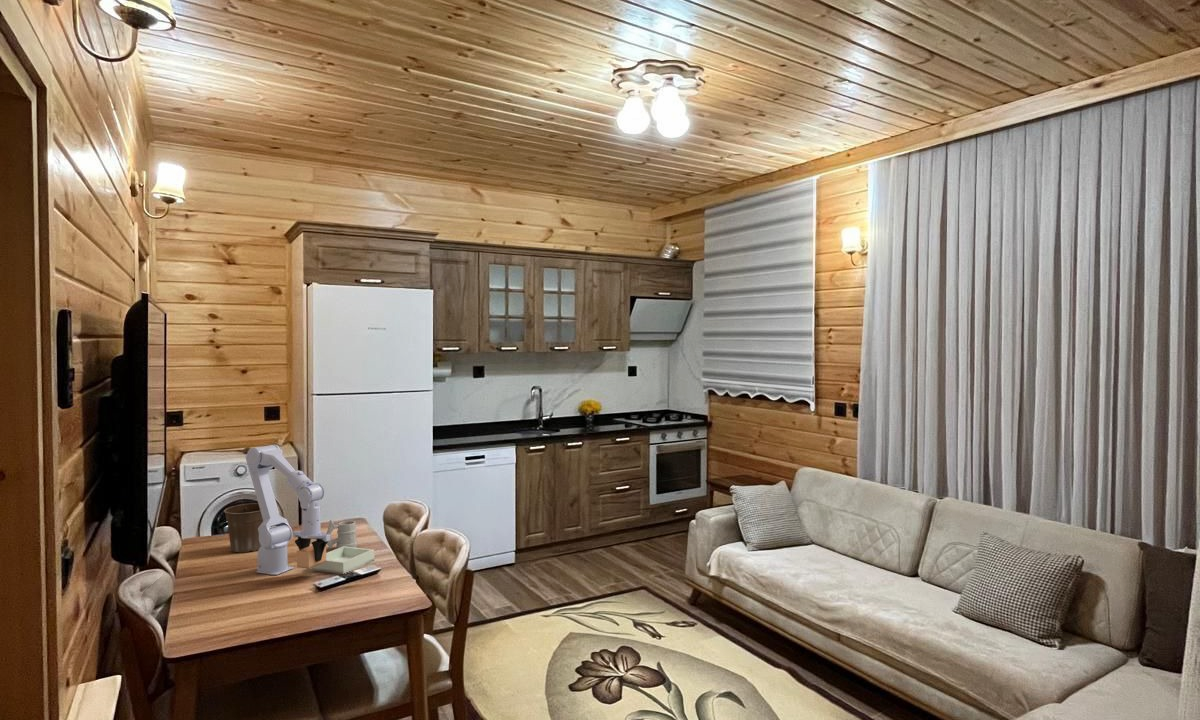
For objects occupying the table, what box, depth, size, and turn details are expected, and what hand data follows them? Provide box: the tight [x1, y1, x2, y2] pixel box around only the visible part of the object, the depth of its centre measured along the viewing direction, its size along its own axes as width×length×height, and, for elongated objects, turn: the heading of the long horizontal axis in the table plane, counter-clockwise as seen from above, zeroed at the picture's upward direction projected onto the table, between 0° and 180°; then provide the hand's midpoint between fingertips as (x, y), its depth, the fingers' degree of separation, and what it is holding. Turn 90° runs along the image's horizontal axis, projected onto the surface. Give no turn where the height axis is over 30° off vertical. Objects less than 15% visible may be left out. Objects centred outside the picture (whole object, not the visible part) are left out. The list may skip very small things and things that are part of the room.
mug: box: [325, 519, 358, 549], centre depth 263 cm, size 8×12×12 cm, turn 125°
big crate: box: [311, 546, 375, 575], centre depth 243 cm, size 14×16×4 cm
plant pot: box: [223, 502, 263, 553], centre depth 264 cm, size 16×16×16 cm
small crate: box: [296, 544, 327, 570], centre depth 230 cm, size 5×8×6 cm, turn 159°
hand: (311, 560), depth 230 cm, fingers closed on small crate, 5 cm apart
